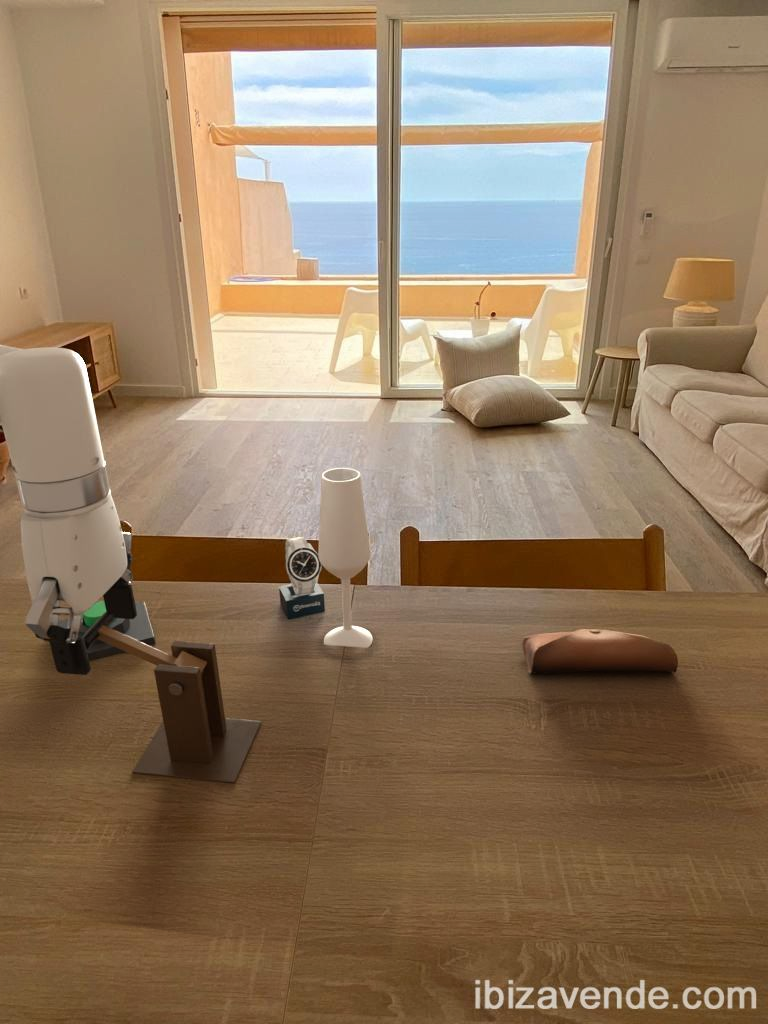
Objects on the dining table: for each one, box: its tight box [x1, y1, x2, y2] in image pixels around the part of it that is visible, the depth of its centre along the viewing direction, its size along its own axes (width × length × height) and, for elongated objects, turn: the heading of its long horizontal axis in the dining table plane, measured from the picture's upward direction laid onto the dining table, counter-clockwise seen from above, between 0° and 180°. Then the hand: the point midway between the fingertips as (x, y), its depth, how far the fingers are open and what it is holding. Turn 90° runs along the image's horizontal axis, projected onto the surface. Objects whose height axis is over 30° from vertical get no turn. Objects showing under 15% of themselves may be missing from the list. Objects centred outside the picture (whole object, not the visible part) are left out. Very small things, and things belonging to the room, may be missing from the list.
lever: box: [82, 612, 207, 676], centre depth 70 cm, size 12×5×2 cm, turn 83°
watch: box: [278, 536, 326, 621], centre depth 99 cm, size 6×8×11 cm
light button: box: [83, 600, 116, 627], centre depth 92 cm, size 4×4×2 cm
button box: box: [58, 600, 157, 662], centre depth 94 cm, size 12×10×4 cm
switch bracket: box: [131, 640, 262, 784], centre depth 72 cm, size 11×9×13 cm
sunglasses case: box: [522, 628, 679, 675], centre depth 88 cm, size 18×7×7 cm
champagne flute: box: [317, 467, 374, 649], centre depth 89 cm, size 7×7×24 cm
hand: (100, 642), depth 71 cm, fingers open, 9 cm apart
